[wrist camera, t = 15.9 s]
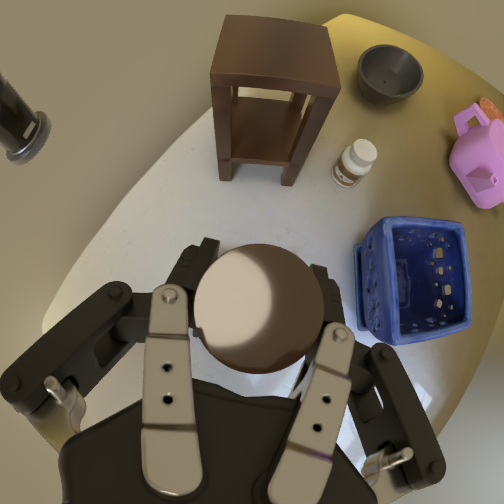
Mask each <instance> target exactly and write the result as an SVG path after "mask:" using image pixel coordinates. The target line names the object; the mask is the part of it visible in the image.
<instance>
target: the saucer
mask: <svg viewBox="0 0 504 504" xmlns="http://www.w3.org/2000/svg"><path fill="white" fill-rule="evenodd" d="M478 106H479V107H480V108H481V110H482V111H483V112H484V114H485V115H486V116H487V118H488V119H489V120H493V119H499V120H501V121H502V122H503V124H504V116H503V115H502V113H501V112H500V111H499V109H498V108H497V107H496V106H495V105H494V104H493V103H492V102H491V101H490V100H488V99H486V98H484V97H482V98H480V100H479V102H478Z"/></svg>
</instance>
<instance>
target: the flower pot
mask: <svg viewBox="0 0 504 504" xmlns="http://www.w3.org/2000/svg"><path fill="white" fill-rule="evenodd" d="M436 232H437V233H436ZM433 233H435V234H433ZM442 237H444V242H442V241H441V239H442ZM430 243H432V246H430ZM448 245H450V247H448ZM437 248H442V250H443V258H436V249H437ZM353 252H354V270H355V290H356V311H357V327H358V330H360V331H368V330H369V331H370V332H371V333H372V334H373V335H374V336H375V337H376V338H377V339H379V340H380V341H382V342H384V343H387V344H390V345H395V346H397V345H404V344H411V343H416V342H422V341H427V340H431V339H436V338H440V337H443V336H447V335H450V334H453V333H456V332H459V331H462V330H464V329H466V328H468V327H469V326H470V325H471V316H472V295H471V277H470V267H469V258H468V250H467V243H466V237H465V232H464V228H463V225H462V224H461V223H459V222H455V221H448V220H440V219H431V218H423V217H408V216H391V217H384V218H382V219H381V220H379V221H378V222H377V223H376V224H375V225H374V226H373V227H372V228H371V229H370V231H369V232H368V233H367V235H366V237H365V239H364V242H363V244H356V245H354V247H353ZM432 261H433V262H434V264H433V266H432V265H431V263H432ZM449 266H451V271H450V270H449ZM439 267H443V275H440V274H439V273H438V268H439ZM436 282H437V283H438V287H437V286H436ZM445 285H450V286H451V294H449V295H445ZM438 299H440V300H441V301H442V306H441V308H439V307H437V301H438ZM451 305H453V309H452V310H451ZM444 315H446V317H444ZM432 322H433V323H432Z"/></svg>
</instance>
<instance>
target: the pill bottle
mask: <svg viewBox="0 0 504 504" xmlns="http://www.w3.org/2000/svg"><path fill="white" fill-rule="evenodd" d="M376 158H377V150H376V148H375V146H374V145H373V144H372V143H371V142H370V141H368V140H365V139H358V140H356V141H355V142H354V143H353V144H352V145H351V146H348V147H347V148H346V149H345V150H344V151H343V152H342V154H341V155H340V157H339V158H338V159H337V161H336V162H335V164H334V165H333V167H332V176H333V179H334V180H335V181H336V182H337V183H338V184H339V185H341V186H342V187H347V188H350V187H353V186H355V185H356V184H357V183H358V182H359V181H360V180H361V179H362V178H363V177H364V176H365V175H366V174H367V173H368V172H369V171H370V169H371V167H372V163H373V162H374V161H375V159H376Z"/></svg>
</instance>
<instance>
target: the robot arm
mask: <svg viewBox="0 0 504 504" xmlns="http://www.w3.org/2000/svg"><path fill="white" fill-rule="evenodd" d="M41 125H42V120H41V118H40V117H39V116H38V115H37V114H36V113H35V112H34V111H33V110H32V109H31V107H30V106H29V105H28V104H27V103H26V102H25V100H24V99H23V98H22V97H21V96H20V95H19V93H18V92H17V91H16V90H15V89H14V87H12V85H11V84H10V83H9V81H8V80H7V79H6V78H5V77H4V76H3V74H2V73H1V72H0V145H1V146H2V147H4V148H5V149H6V150H7V151H9V152H10V153H11V154H12V155H19V154H21V153H23V152H24V151H25V150H27V149H28V148H29V147H30V146H31V144H32V143H33V142H34V140H35V139H36V137H37V136H38V134H39V132H40V129H41ZM219 245H220V241H219V240H215V239H211V238H207V237H205V238H204V239H203V241H202V243H201V245H200V247H199V246H195V245H190V246H189V247H187V248H186V249H184V250H183V252H182V254H181V256H180V258H179V259H178V261H177V264H176V265H175V266H174V268H173V270H172V272H171V274H170V275H169V277H168V279H167V281H166V283H165V284H163V285H160V286H158V287H157V288H155V289H154V291H153V292H151V293H132V289H131V287H130V286H129V285H128V284H126V283H124V282H120V281H113V282H109V283H107V284H105V285H103V286H102V287H101V288H100V289H98V290H97V291H96V292H95V293H93V294H92V295H91V296H90V297H88V298H87V299H86V300H85V301H83V302H82V303H81V304H80V305H78V306H77V307H76V308H75V309H74V310H72V311H71V312H70V313H69V314H68V315H66V316H65V317H64V318H63V319H62V320H60V321H59V322H58V323H57V324H56V325H55V326H53V327H52V328H51V329H50V330H49V331H48V332H47V333H45V334H44V335H43V336H42V337H41V338H40V339H39V340H37V342H35V343H34V344H33V345H32V346H31V347H30V348H29V349H28V350H27V351H26V352H24V353H23V354H22V355H21V356H20V357H19V358H18V359H17V360H16V361H15V362H14V363H13V364H12V365H11V366H9V368H7V369H6V371H4V373H3V374H2V376H1V378H0V392H1V394H2V396H3V397H4V399H5V400H6V401H7V402H8V403H9V404H11V405H12V406H13V407H14V409H15V410H16V411H17V412H18V413H20V414H21V415H22V416H23V417H25V418H26V419H27V420H28V421H29V422H30V423H31V424H32V425H33V426H34V427H35V428H36V430H37V431H38V432H39V433H40V434H41V435H42V437H43V438H44V439H45V440H46V441H47V442H48V443H49V444H50V445H51V446H52V447H53V448H54V449H55V450H56V451H57V452H58V453H59V459H58V465H59V466H58V467H59V472H60V477H61V482H62V491H63V500H62V504H389V503H391V502H393V501H395V500H397V499H399V498H400V497H402V496H404V495H406V494H407V493H410V492H413V491H416V490H419V489H422V488H425V487H428V486H431V485H433V484H436V483H438V482H439V481H440V480H441V479H442V478H443V477H444V475H445V472H446V462H445V459H444V456H443V454H442V451H441V449H440V446H439V444H438V441H437V439H436V436H435V434H434V432H433V429H432V427H431V425H430V422H429V420H428V418H427V415H426V413H425V411H424V409H423V407H422V404H421V402H420V400H419V398H418V396H417V394H416V392H415V389H414V387H413V385H412V383H411V381H410V379H409V377H408V375H407V373H406V371H405V369H404V367H403V365H402V363H401V361H400V359H399V358H398V356H397V354H396V352H395V351H394V349H393V348H392V347H391V346H389V345H387V344H385V343H376V344H374V345H373V346H372V348H370V347H368V346H366V345H363V344H361V343H359V342H357V341H356V340H355V336H354V334H353V332H352V331H351V329H350V328H349V327H347V326H346V325H345V318H344V312H343V307H342V304H341V302H342V301H341V297H340V296H341V295H340V290H339V287H338V285H337V284H336V282H335V281H334V280H333V279H329V278H328V273H327V268H326V267H323V266H319V265H315V264H311V265H310V267H309V268H310V269H311V270H312V272H313V273H314V275H315V277H316V278H317V280H318V283H319V285H320V287H321V291H322V295H323V301H324V316H323V322H322V326H321V330H320V332H319V335H318V337H317V339H316V341H315V342H314V344H313V345H312V347H311V348H310V350H309V351H308V352H307V353H306V354H305V360H304V361H303V363H302V365H301V367H300V370H299V372H298V375H297V377H296V380H295V382H294V385H293V387H292V389H291V392H290V394H289V396H288V398H285V397H278V396H259V397H243V396H241V395H238V394H236V393H234V392H232V391H230V390H227V389H225V388H223V387H221V386H219V385H217V384H213V383H209V382H205V381H201V380H198V379H194V378H192V374H191V357H190V338H189V336H188V329H189V327H190V328H194V329H195V324H194V318H193V300H194V295H195V291H196V288H197V285H198V283H199V280H200V279H201V277H202V275H203V274H204V272H205V271H206V269H207V268H208V267H209V266H210V265H211V264H212V263H213V262H214V261H215V260H216V259H217V256H218V251H219ZM136 342H138V343H145V353H144V371H143V398H142V399H140V400H138V401H137V402H135V403H133V404H132V405H130V406H128V407H126V408H124V409H123V410H121V411H119V412H117V413H116V414H113V415H112V416H110V417H108V418H106V419H104V420H102V421H100V422H99V423H97V424H95V425H93V426H91V427H89V428H87V429H85V430H83V431H80V423H81V420H82V418H83V416H84V415H85V412H86V402H85V400H84V397H86V395H87V394H88V393H89V392H90V391H91V390H92V389H93V388H94V387H95V386H96V385H97V384H98V383H99V381H100V380H101V379H102V378H103V377H104V376H105V375H106V374H107V373H108V372H109V371H110V370H111V369H112V368H113V366H114V365H115V364H116V363H117V362H118V361H119V360H120V359H121V358H122V357H123V356H124V355H125V354H126V353H127V352H128V350H130V348H132V347H133V345H134V344H135V343H136ZM375 386H376V388H377V390H378V392H379V395H380V397H381V399H382V402H383V408H382V406H381V404H380V401H379V399H378V396H377V394H376V392H375V389H374V387H375ZM347 404H348V407H349V410H350V412H351V415H352V418H353V421H354V423H355V426H356V429H357V432H358V435H359V437H360V440H361V443H362V446H363V449H364V452H365V455H366V460H365V462H364V466H363V468H362V470H361V473H362V475H363V476H364V478H363V477H362V475H361V474H360V473H359V472H358V470H357V469H356V468H355V466H354V465H353V464H352V463H351V461H350V460H349V459H348V457H347V456H346V455H345V454H344V452H343V451H342V450H341V448H340V447H339V446H338V444H337V443H336V441H337V438H338V434H339V431H340V428H341V424H342V421H343V417H344V413H345V409H346V405H347Z"/></svg>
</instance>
